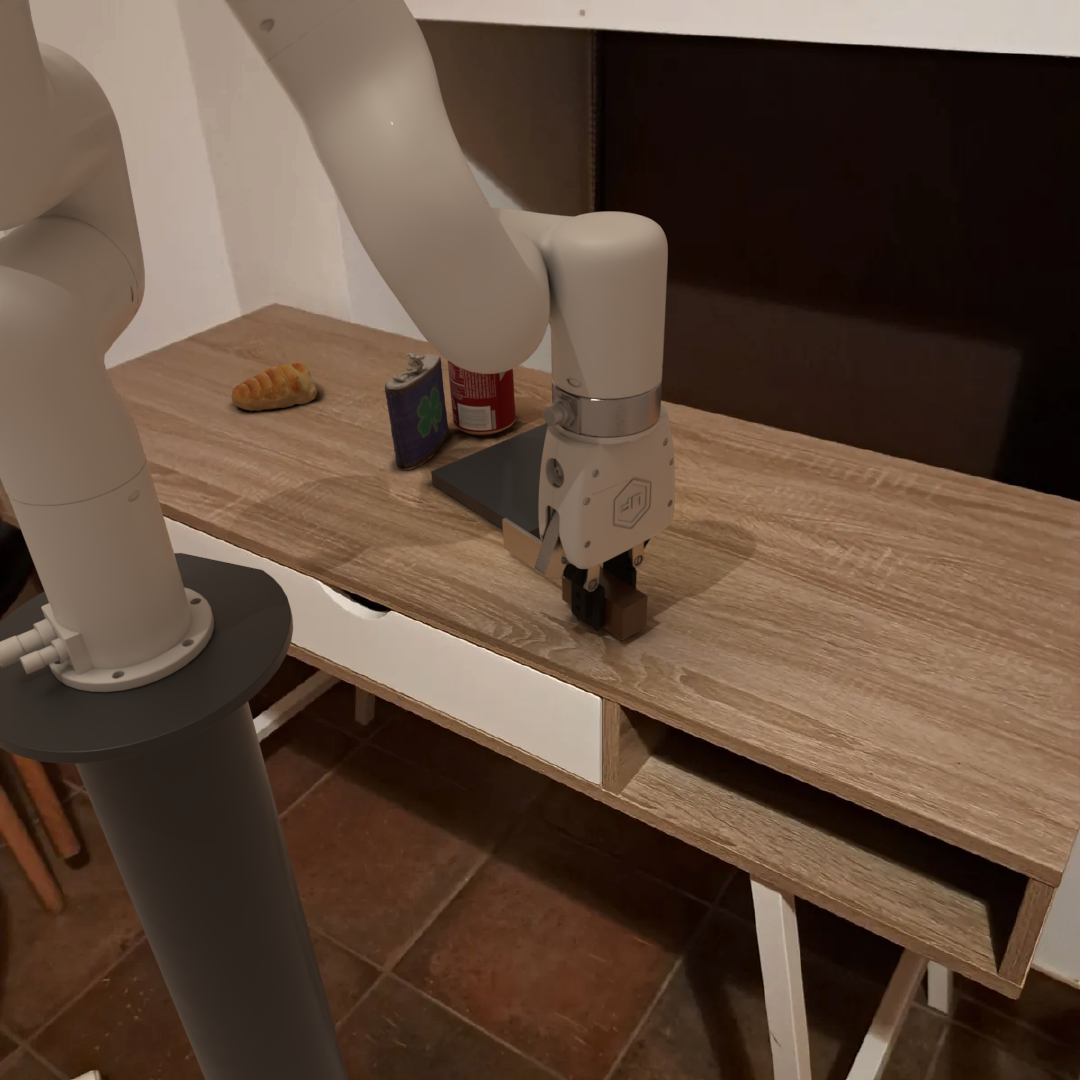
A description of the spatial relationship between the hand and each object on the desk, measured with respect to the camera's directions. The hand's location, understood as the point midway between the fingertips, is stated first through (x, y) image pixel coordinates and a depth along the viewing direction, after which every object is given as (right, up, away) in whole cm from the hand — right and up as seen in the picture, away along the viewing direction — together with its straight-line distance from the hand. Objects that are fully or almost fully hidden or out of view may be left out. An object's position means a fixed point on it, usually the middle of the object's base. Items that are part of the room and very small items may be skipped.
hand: (603, 610), depth 80 cm
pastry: (-35, +22, +37) cm, 56 cm away
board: (-4, +11, +19) cm, 23 cm away
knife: (-3, +1, +3) cm, 4 cm away
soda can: (-11, +18, +30) cm, 36 cm away
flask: (-17, +15, +26) cm, 34 cm away
